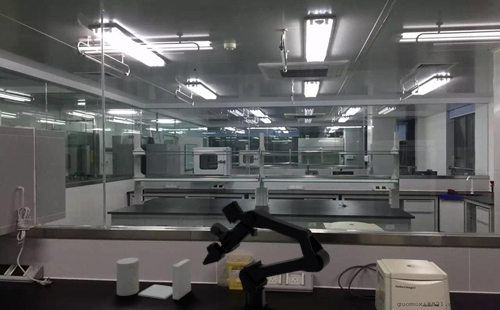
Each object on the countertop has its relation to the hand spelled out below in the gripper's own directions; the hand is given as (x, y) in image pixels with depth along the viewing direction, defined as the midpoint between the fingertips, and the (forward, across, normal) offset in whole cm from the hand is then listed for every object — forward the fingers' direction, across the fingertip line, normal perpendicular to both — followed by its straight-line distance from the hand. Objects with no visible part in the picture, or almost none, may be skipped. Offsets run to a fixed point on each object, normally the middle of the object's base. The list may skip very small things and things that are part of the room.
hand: (209, 260), depth 118 cm
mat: (+25, +1, -4) cm, 25 cm away
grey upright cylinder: (+35, +4, -12) cm, 37 cm away
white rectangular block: (+18, 0, +3) cm, 18 cm away
